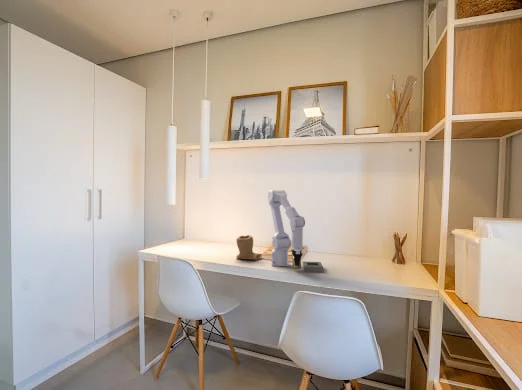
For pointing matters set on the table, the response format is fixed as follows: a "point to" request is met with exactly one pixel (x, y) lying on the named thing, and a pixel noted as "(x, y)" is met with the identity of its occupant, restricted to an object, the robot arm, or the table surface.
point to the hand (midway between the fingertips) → (296, 264)
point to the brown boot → (246, 248)
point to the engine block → (312, 267)
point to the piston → (296, 266)
